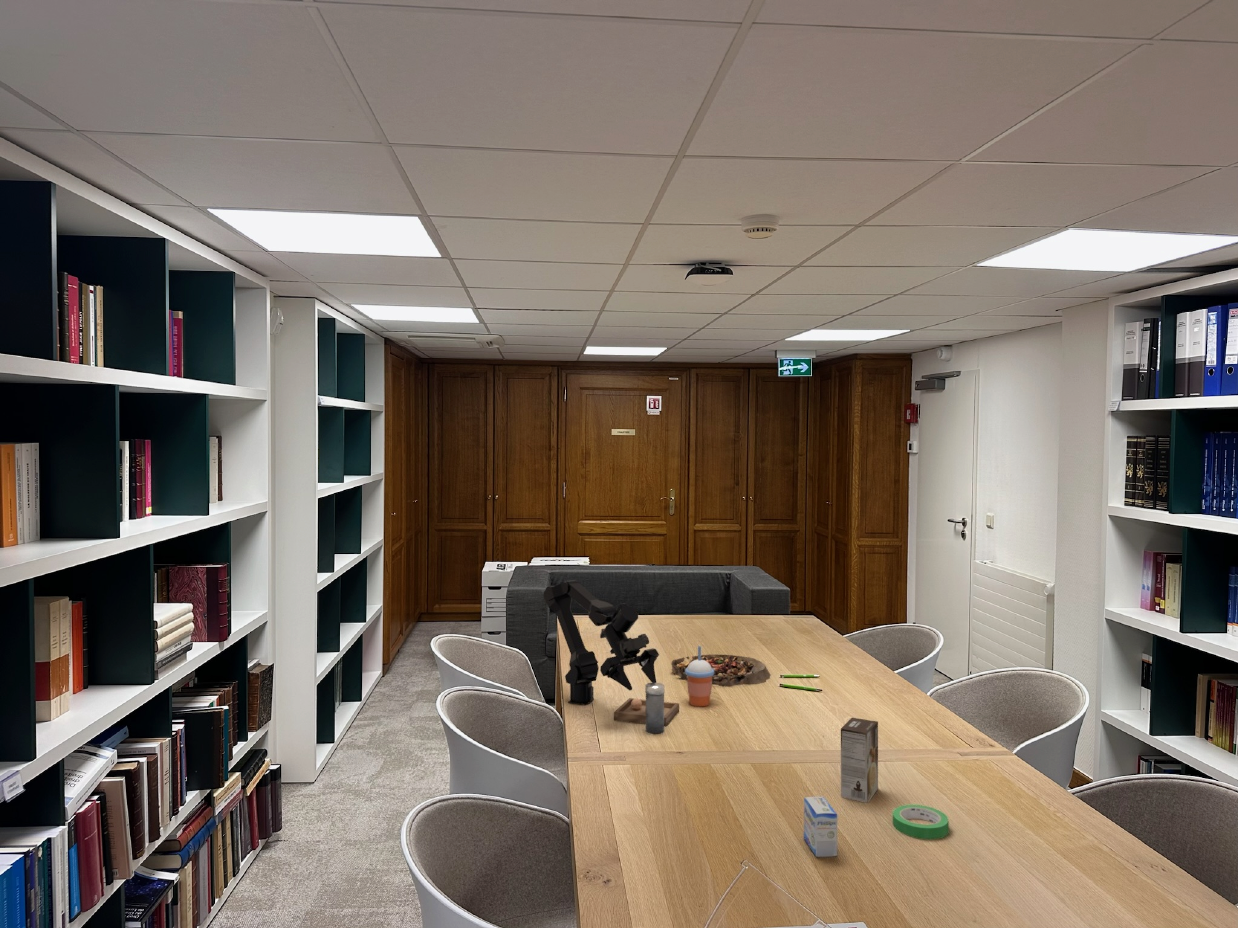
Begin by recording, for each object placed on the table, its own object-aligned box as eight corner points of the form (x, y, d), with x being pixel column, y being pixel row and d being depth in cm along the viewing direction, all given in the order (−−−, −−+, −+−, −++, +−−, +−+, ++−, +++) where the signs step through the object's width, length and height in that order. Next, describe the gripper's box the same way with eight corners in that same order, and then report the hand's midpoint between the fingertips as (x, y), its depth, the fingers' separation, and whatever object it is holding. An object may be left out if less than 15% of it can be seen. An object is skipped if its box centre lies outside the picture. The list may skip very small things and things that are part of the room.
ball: (633, 700, 248) (631, 710, 246) (631, 695, 246) (629, 705, 244) (643, 701, 247) (641, 711, 245) (641, 696, 244) (639, 706, 242)
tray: (614, 720, 238) (613, 711, 238) (629, 705, 251) (629, 697, 251) (666, 726, 233) (666, 717, 233) (679, 711, 246) (679, 703, 246)
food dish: (659, 685, 278) (658, 662, 278) (687, 663, 309) (687, 642, 309) (760, 692, 265) (759, 668, 265) (779, 668, 295) (778, 647, 295)
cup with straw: (712, 708, 248) (712, 650, 248) (683, 707, 250) (683, 649, 250) (715, 699, 257) (715, 643, 257) (686, 698, 259) (686, 642, 258)
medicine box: (803, 838, 166) (803, 796, 166) (824, 837, 166) (824, 795, 166) (815, 857, 158) (815, 813, 158) (837, 856, 158) (837, 812, 158)
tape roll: (883, 827, 171) (883, 815, 171) (907, 811, 178) (907, 799, 178) (934, 846, 163) (934, 833, 163) (957, 827, 171) (957, 815, 171)
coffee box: (851, 783, 193) (851, 716, 193) (878, 788, 189) (878, 720, 189) (839, 797, 185) (840, 727, 185) (868, 803, 182) (868, 732, 181)
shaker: (642, 732, 227) (642, 686, 227) (648, 726, 233) (648, 681, 232) (661, 735, 226) (661, 688, 225) (666, 728, 231) (666, 683, 231)
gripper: (605, 630, 231) (631, 676, 222) (654, 621, 243) (680, 665, 234) (589, 652, 237) (613, 698, 229) (637, 642, 249) (662, 686, 240)
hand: (643, 686), depth 233 cm, fingers open, 9 cm apart
